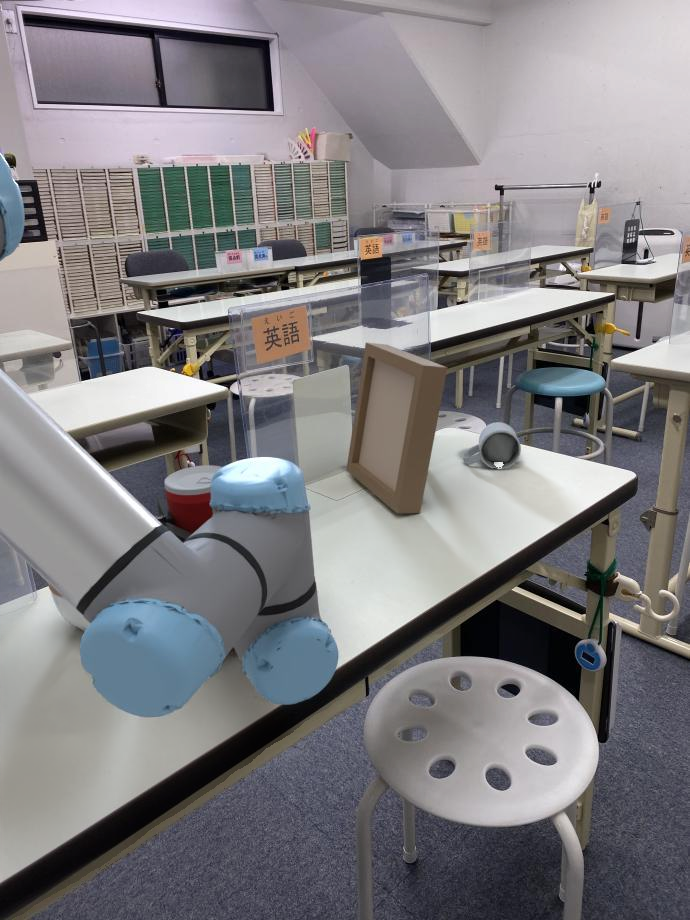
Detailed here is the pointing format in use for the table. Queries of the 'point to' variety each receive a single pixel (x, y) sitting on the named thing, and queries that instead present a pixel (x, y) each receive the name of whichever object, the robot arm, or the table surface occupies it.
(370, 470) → the photo frame
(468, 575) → the table surface
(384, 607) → the table surface
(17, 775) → the table surface
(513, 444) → the ceramic mug
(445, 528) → the table surface
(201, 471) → the canned food
